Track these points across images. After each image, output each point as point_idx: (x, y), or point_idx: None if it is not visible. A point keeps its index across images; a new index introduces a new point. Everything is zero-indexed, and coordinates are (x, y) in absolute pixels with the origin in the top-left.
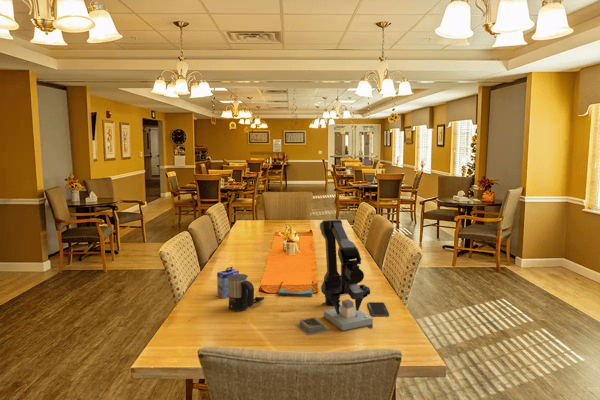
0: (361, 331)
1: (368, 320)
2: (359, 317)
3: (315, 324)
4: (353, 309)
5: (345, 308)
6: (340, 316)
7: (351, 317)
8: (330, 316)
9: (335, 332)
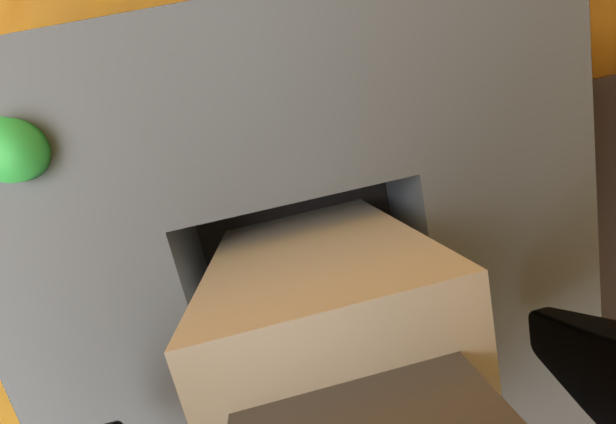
0: None
1: (3, 49)
2: (160, 168)
3: None
4: (257, 308)
5: (494, 364)
6: None
7: (302, 231)
8: None
9: None
